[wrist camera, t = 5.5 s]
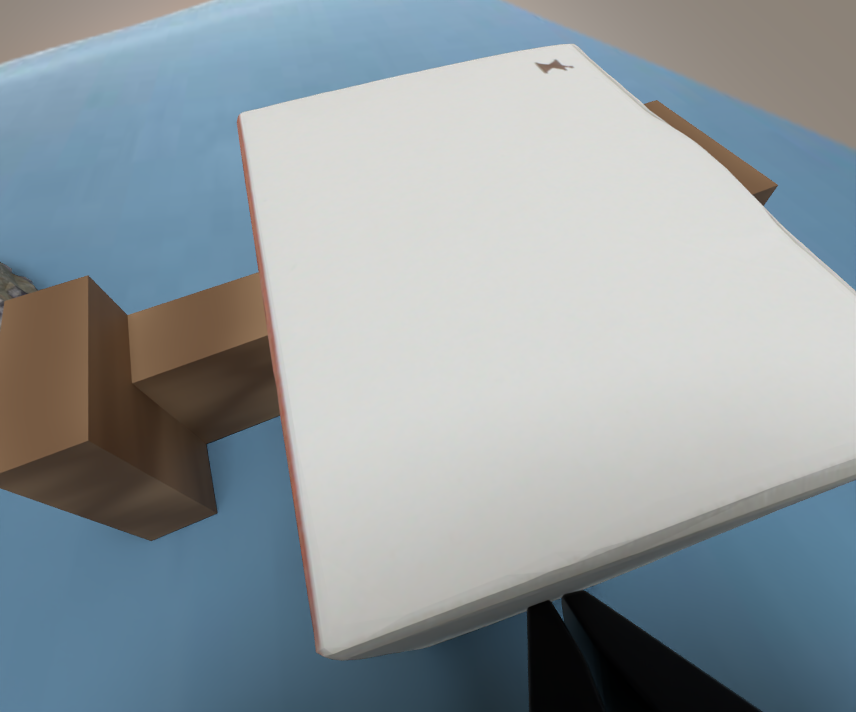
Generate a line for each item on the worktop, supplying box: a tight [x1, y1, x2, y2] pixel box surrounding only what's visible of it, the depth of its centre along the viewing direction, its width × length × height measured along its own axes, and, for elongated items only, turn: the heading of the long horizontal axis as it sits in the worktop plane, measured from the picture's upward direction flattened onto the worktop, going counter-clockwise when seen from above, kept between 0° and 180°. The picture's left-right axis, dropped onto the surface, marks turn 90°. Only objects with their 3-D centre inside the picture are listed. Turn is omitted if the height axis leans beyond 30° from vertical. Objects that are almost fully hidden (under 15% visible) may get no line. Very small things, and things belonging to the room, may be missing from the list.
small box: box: [237, 44, 856, 660], centre depth 11 cm, size 8×6×13 cm
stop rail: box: [0, 100, 778, 541], centre depth 17 cm, size 24×6×7 cm, turn 113°
